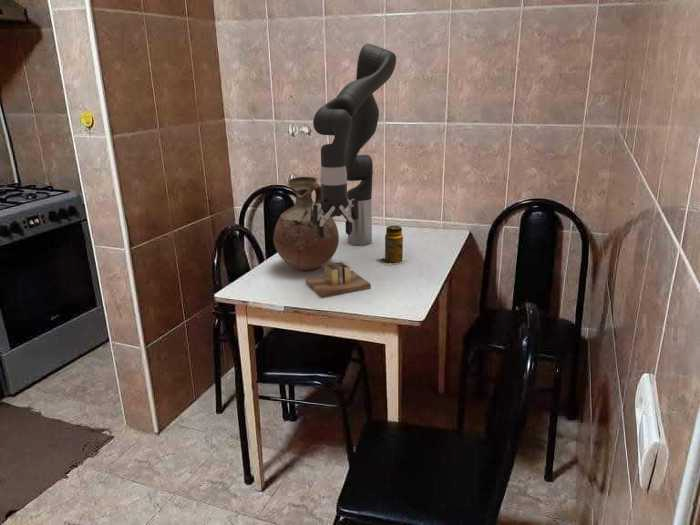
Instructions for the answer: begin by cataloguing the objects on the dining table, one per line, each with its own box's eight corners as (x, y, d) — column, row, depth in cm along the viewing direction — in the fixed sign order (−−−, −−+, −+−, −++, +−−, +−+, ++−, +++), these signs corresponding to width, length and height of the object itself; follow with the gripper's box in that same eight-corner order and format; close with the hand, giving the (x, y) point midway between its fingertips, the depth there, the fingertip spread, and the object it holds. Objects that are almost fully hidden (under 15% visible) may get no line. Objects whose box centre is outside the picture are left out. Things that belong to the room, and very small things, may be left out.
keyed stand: (305, 283, 166) (304, 263, 163) (352, 275, 172) (352, 255, 170) (321, 297, 154) (320, 276, 152) (370, 288, 161) (370, 268, 158)
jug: (263, 274, 174) (256, 183, 164) (292, 254, 193) (288, 171, 183) (325, 281, 167) (321, 186, 157) (348, 260, 186) (347, 174, 176)
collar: (324, 279, 164) (324, 264, 162) (342, 276, 166) (342, 261, 165) (332, 286, 159) (332, 270, 157) (350, 282, 161) (350, 267, 159)
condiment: (407, 261, 184) (408, 227, 180) (388, 266, 179) (388, 231, 175) (394, 256, 190) (394, 223, 186) (375, 260, 185) (375, 227, 181)
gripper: (315, 186, 147) (317, 242, 152) (361, 181, 152) (362, 236, 158) (305, 181, 153) (308, 235, 158) (351, 177, 158) (351, 229, 164)
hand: (335, 235), depth 158 cm, fingers open, 8 cm apart
